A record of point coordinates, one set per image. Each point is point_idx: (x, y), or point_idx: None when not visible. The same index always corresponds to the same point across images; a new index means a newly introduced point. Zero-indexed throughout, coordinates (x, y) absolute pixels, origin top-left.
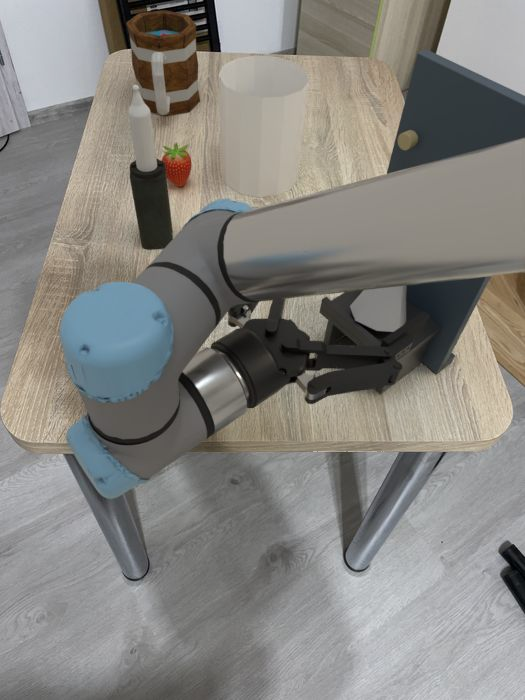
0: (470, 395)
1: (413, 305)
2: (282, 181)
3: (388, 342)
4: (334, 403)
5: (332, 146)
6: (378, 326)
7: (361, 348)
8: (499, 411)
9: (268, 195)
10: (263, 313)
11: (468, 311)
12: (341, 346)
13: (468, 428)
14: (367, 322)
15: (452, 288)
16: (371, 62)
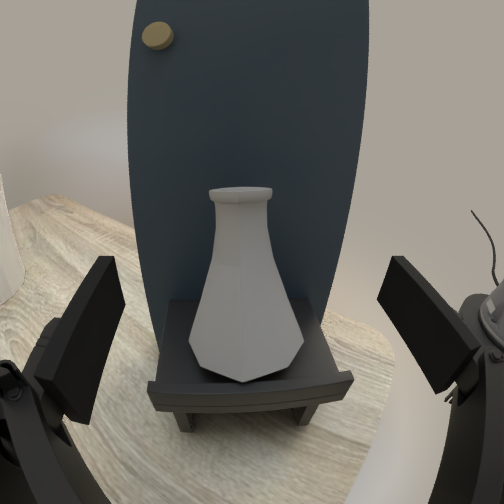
0: (349, 342)
1: None
2: (11, 278)
3: (478, 343)
4: (287, 486)
5: (42, 239)
6: (286, 358)
7: (492, 409)
8: (373, 332)
9: (6, 299)
10: (77, 446)
11: (340, 250)
12: (485, 462)
13: (384, 366)
14: (265, 367)
15: (310, 233)
16: (48, 195)
